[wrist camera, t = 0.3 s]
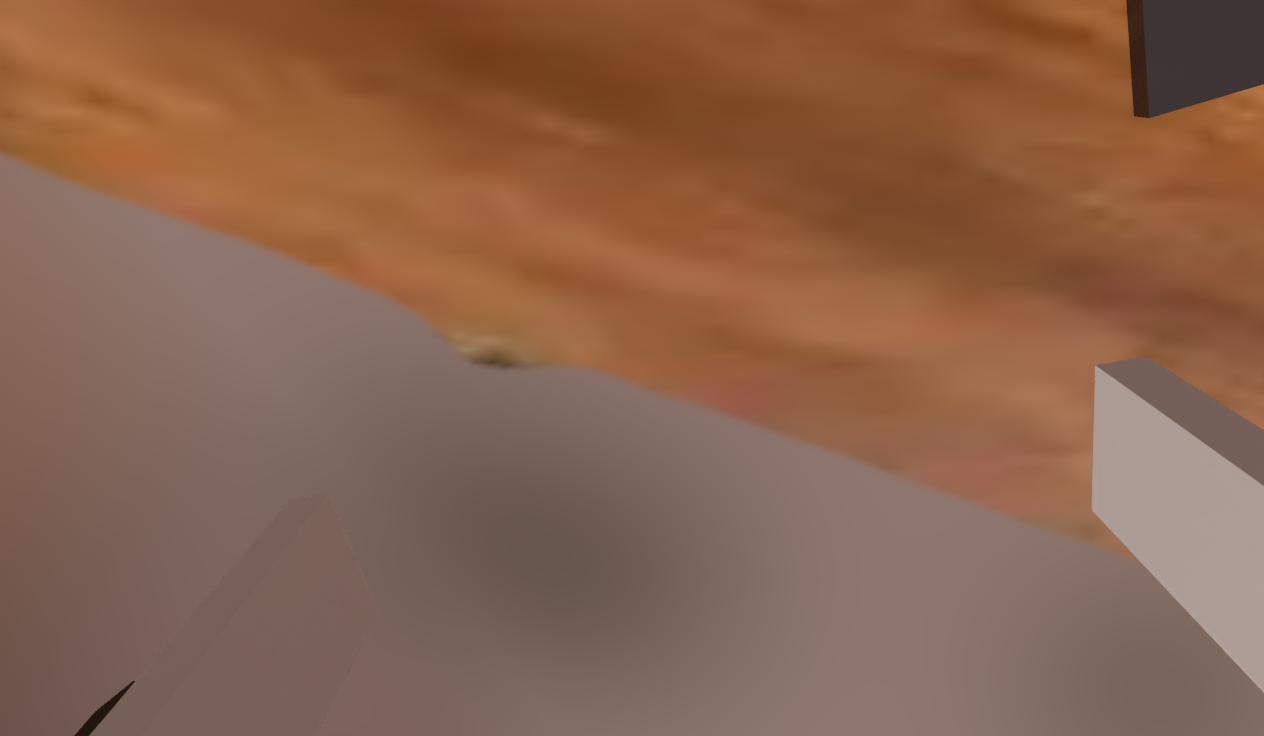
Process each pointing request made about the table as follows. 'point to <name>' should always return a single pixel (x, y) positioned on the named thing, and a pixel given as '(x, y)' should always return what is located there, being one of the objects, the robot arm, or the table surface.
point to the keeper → (1193, 51)
